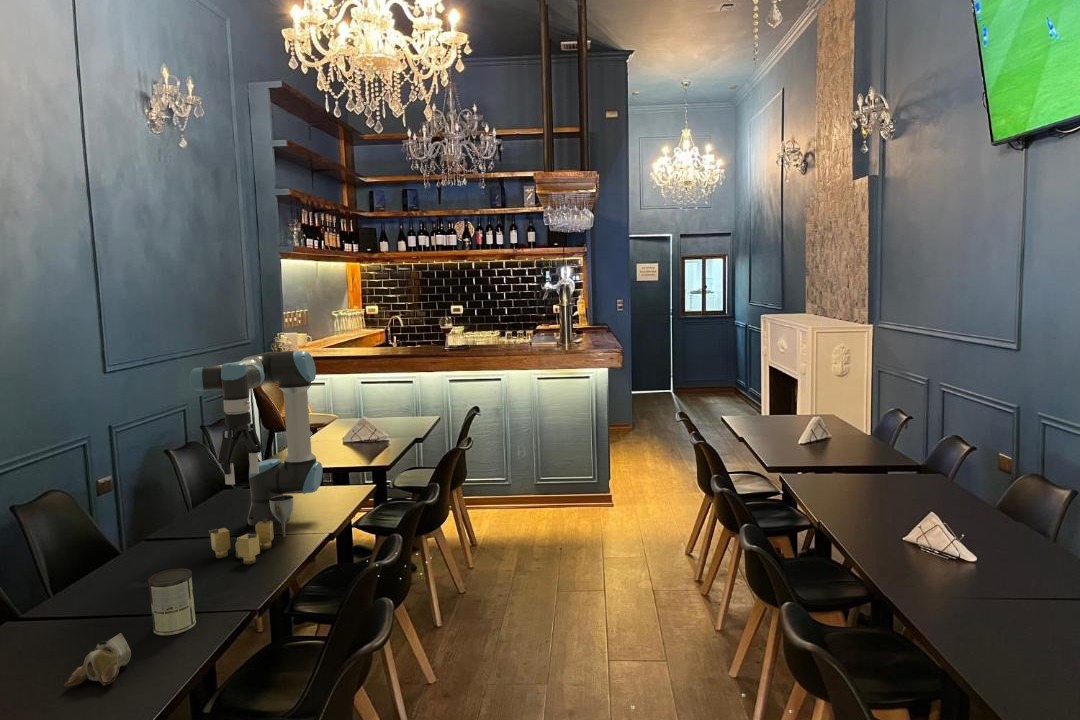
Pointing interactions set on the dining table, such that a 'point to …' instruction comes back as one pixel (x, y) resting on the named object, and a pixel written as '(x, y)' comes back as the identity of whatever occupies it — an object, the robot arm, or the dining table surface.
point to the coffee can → (172, 601)
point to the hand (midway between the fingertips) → (242, 478)
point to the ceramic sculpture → (103, 662)
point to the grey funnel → (282, 508)
